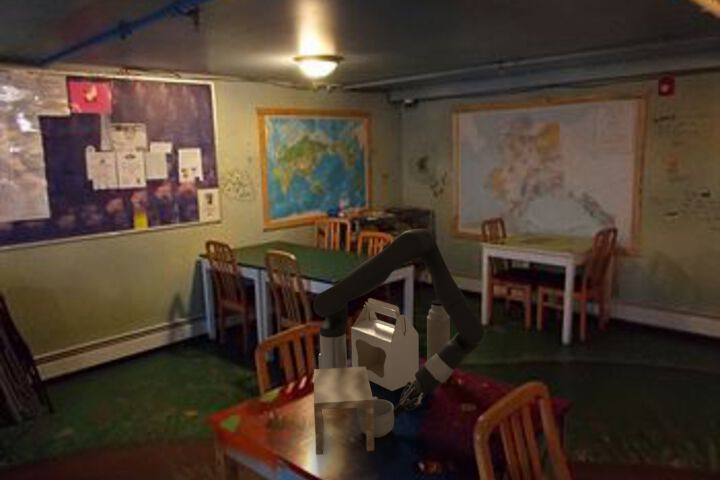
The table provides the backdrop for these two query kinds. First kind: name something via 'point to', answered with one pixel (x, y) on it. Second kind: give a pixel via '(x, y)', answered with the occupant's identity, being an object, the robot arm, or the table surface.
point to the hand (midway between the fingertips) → (394, 414)
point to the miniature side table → (342, 398)
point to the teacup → (378, 417)
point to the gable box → (385, 346)
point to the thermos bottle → (437, 329)
